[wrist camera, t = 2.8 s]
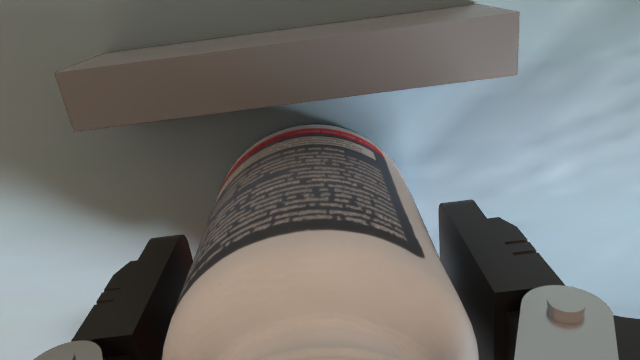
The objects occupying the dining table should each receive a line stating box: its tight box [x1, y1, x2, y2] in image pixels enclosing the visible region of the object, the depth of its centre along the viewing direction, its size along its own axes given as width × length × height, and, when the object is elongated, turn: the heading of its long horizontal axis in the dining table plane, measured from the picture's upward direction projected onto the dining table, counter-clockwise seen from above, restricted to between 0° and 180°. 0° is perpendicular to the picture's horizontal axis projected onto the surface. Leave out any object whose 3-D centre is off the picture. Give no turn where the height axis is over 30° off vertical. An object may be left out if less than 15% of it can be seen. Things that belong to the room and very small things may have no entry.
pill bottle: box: [162, 125, 479, 360], centre depth 10 cm, size 5×5×9 cm
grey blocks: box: [55, 4, 519, 132], centre depth 13 cm, size 9×10×2 cm
